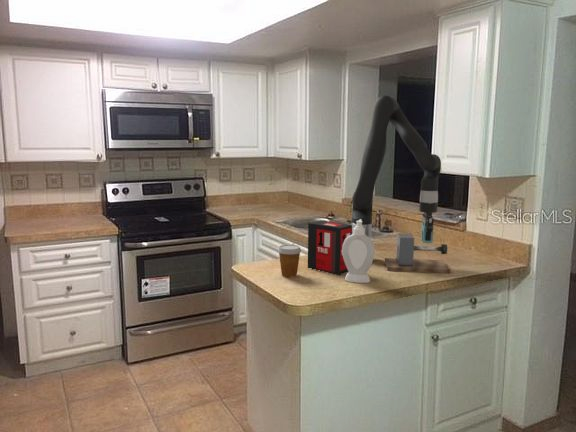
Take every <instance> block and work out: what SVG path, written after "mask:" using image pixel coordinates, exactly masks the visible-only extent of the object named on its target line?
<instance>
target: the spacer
mask: <svg viewBox="0 0 576 432" xmlns="http://www.w3.org/2000/svg"><path fill="white" fill-rule="evenodd" d="M428 229H430V227H428ZM425 230H426V227H424V225H422V224H421V236H420V238H421V239H420V241H421V242H422V244H433V242H434V230H433V231H432V232H431V240H430V241H426V240H425V236H426V231H425Z"/></svg>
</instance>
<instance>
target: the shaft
mask: <svg viewBox="0 0 576 432" xmlns="http://www.w3.org/2000/svg"><path fill="white" fill-rule="evenodd" d="M414 251H419V252H422V251H424V252H440V254H441V255H447V254H448V244H447V243H446V244H445V243H441V244H440V246H429V245H427V246H426V245H414Z"/></svg>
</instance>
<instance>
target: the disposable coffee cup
mask: <svg viewBox="0 0 576 432" xmlns="http://www.w3.org/2000/svg"><path fill="white" fill-rule="evenodd" d="M277 251H278V254H279V262H280V263H279V264H280V270H281V271H280V272H281V276H282V275H283V276H282V277H284V276H286V277H285V278H294V276H295V277H297V276H296V275H298V269H299V262H300V253H301V252H302V249H301V247H300V246H299V245H297V244H282V245H279V246H278V249H277Z"/></svg>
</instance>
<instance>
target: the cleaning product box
mask: <svg viewBox="0 0 576 432" xmlns="http://www.w3.org/2000/svg"><path fill="white" fill-rule="evenodd" d="M350 235H352V224H347V223H341V222H340V223H339V222H333V221H325V220H316V221H312V222H308V229H307V236H308V237H307V269H309V268H312V269H311V270H313V269H316V270H315V271H318V270H320V271H319V272H322V271H324V272H323V273H326V272H328V273H327V274H331V273H332V275H335V274H336V275H335V276H341V274H342V275H344V274H347V273H348V269H347V267H346V264H345V262H344V259H343V255H342V246H343V243H344V240H345V239H346V238H347V237H348V236H350ZM346 272H347V273H346Z"/></svg>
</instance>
